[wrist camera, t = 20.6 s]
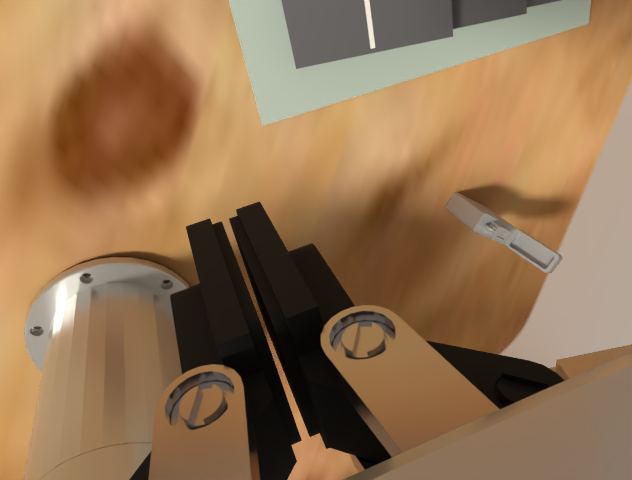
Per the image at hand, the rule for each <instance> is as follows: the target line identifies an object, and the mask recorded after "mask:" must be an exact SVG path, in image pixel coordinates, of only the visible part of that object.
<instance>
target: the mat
mask: <svg viewBox="0 0 632 480" xmlns="http://www.w3.org/2000/svg"><path fill="white" fill-rule="evenodd" d="M228 1H229V4H230V8H231V12H232V16H233V19H234V23H235V27H236V31H237V34H238V38H239V42H240V46H241V49H242V53H243V57H244V61H245V64H246V68H247V72H248V75H249V79H250V83H251V87H252V90H253V94H254V98H255V102H256V105H257V109H258V113H259V117H260V120H261V124H262V125H263V126H264V125H267V124H270V123H274V122H277V121H280V120H283V119H286V118H290V117H293V116H296V115H299V114H302V113H306V112H309V111H312V110H315V109H318V108H322V107H325V106H328V105H331V104H334V103H337V102H341V101H344V100H347V99H350V98H353V97H357V96H360V95H363V94H366V93H369V92H373V91H376V90H379V89H382V88H385V87H389V86H392V85H395V84H398V83H401V82H404V81H408V80H411V79H414V78H417V77H420V76H424V75H427V74H430V73H433V72H436V71H440V70H443V69H446V68H449V67H452V66H456V65H459V64H462V63H465V62H468V61H471V60H475V59H478V58H481V57H484V56H487V55H491V54H494V53H497V52H500V51H503V50H507V49H510V48H513V47H516V46H519V45H523V44H526V43H529V42H532V41H535V40H538V39H542V38H545V37H548V36H551V35H554V34H558V33H561V32H564V31H567V30H570V29H574V28H577V27H580V26H583V25H586V24H589V19H590V9H591V0H561V1H556V2H551V3H547V4H542V5H537V6H532V7H528V8H527V14H523V15H518V16H513V17H509V18H504V19H499V20H494V21H490V22H485V23H480V24H475V25H471V26H466V27H461V28H456V29H453V37H449V38H444V39H439V40H434V41H429V42H425V43H420V44H415V45H410V46H405V47H400V48H395V49H391V50H386V51H381V52H376V53H371V54H366V55H362V56H357V57H352V58H347V59H342V60H337V61H332V62H328V63H323V64H318V65H313V66H308V67H303V68H299V69H296V66H295V61H294V57H293V52H292V47H291V43H290V38H289V34H288V29H287V24H286V20H285V15H284V10H283V6H282V1H281V0H228Z"/></svg>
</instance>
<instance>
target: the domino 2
mask: <svg viewBox="0 0 632 480" xmlns="http://www.w3.org/2000/svg"><path fill="white" fill-rule="evenodd" d="M523 14H527V0H452V20H453V29H456V28H461V27H466V26H471V25H475V24H480V23H485V22H490V21H494V20H499V19H504V18H509V17H513V16H518V15H523Z"/></svg>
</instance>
